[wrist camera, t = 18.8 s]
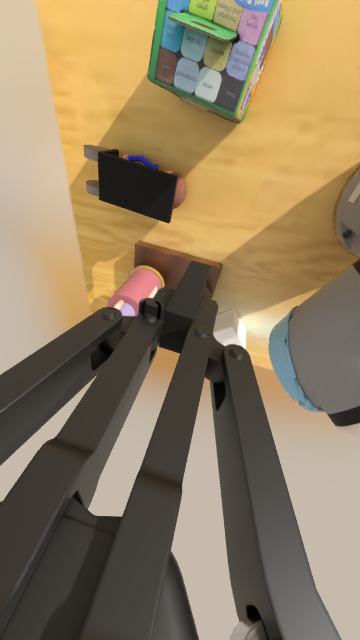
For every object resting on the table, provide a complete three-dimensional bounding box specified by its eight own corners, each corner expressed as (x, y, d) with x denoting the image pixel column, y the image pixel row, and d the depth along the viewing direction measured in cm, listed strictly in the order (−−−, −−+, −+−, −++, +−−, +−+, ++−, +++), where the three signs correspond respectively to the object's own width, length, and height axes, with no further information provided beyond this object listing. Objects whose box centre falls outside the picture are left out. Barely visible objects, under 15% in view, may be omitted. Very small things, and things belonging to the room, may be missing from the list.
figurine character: (106, 189, 40) (185, 215, 38) (76, 196, 34) (167, 226, 32) (106, 142, 36) (194, 168, 34) (72, 140, 30) (175, 171, 28)
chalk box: (283, 17, 24) (310, -95, 13) (241, 126, 30) (233, 116, 19) (202, -19, 24) (156, -164, 13) (176, 98, 30) (128, 70, 18)
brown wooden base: (221, 263, 42) (219, 272, 39) (205, 314, 49) (202, 324, 47) (139, 240, 43) (131, 247, 40) (135, 293, 51) (129, 302, 48)
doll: (132, 296, 46) (85, 355, 33) (127, 263, 42) (71, 317, 29) (165, 300, 45) (129, 364, 32) (163, 267, 41) (121, 325, 28)
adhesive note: (208, 317, 50) (203, 335, 45) (234, 308, 47) (232, 326, 42) (221, 337, 52) (217, 356, 47) (246, 330, 49) (245, 349, 44)
